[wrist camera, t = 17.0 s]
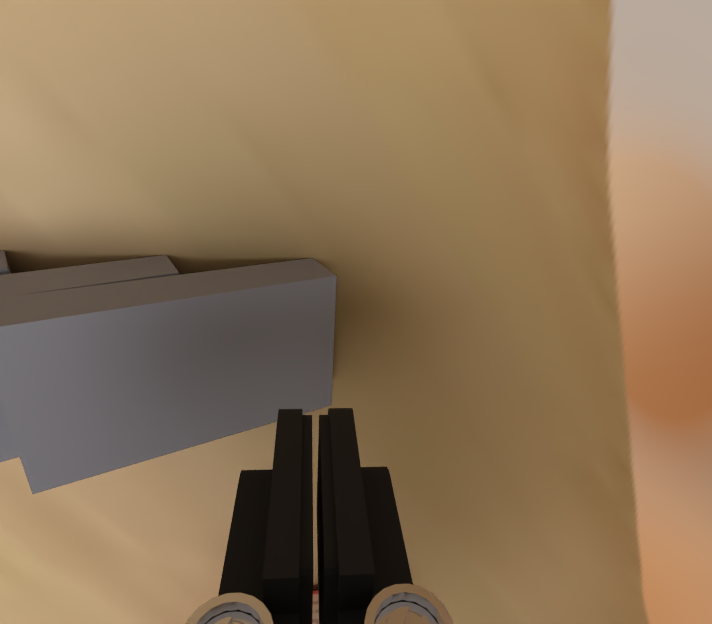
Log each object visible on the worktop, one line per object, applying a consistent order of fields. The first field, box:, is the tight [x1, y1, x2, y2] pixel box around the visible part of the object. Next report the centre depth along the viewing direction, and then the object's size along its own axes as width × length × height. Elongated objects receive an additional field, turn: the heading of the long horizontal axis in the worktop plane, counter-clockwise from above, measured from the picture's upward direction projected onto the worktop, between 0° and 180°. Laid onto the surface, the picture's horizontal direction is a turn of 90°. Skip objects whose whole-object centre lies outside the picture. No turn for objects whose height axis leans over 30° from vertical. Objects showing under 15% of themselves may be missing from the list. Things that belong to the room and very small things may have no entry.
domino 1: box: [0, 255, 179, 462], centre depth 13 cm, size 2×5×9 cm
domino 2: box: [0, 258, 337, 494], centre depth 14 cm, size 2×5×9 cm
